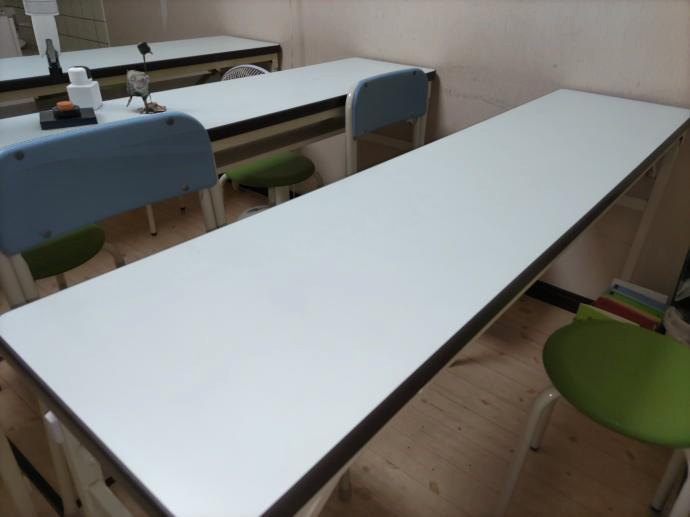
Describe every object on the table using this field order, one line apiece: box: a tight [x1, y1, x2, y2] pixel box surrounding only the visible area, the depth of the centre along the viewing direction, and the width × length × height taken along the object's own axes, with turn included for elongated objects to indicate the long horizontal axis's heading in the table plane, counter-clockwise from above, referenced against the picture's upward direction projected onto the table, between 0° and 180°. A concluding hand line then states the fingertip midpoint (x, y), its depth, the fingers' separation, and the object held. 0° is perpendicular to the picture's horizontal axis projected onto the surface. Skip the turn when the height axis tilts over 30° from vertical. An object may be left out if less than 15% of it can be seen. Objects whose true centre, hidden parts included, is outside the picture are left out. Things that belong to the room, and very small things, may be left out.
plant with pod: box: [125, 40, 167, 115], centre depth 151 cm, size 8×11×20 cm
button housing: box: [38, 105, 99, 131], centre depth 144 cm, size 14×11×4 cm
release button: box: [56, 100, 74, 110], centre depth 142 cm, size 4×4×2 cm
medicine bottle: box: [65, 65, 104, 111], centre depth 155 cm, size 7×7×12 cm
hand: (58, 82), depth 139 cm, fingers closed
